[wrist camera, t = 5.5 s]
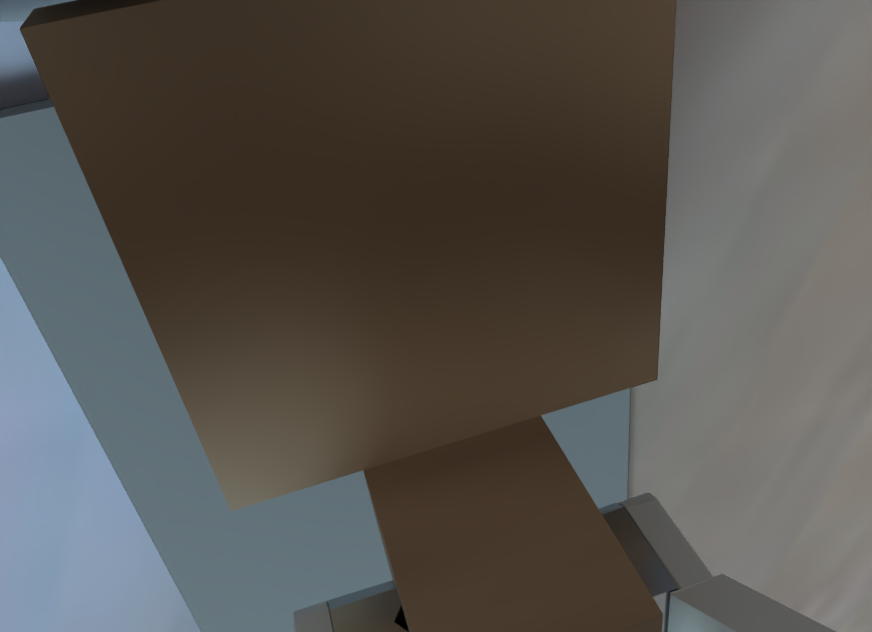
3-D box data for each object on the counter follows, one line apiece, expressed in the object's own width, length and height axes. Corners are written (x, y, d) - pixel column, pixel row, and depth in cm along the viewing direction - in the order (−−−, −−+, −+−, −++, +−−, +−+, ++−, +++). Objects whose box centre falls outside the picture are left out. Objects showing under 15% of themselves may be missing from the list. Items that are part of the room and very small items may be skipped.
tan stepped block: (623, 645, 16) (737, 856, 13) (345, 747, 15) (392, 1002, 12) (640, -111, 8) (968, -59, 5) (34, 8, 7) (-89, 179, 4)
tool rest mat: (627, -23, 14) (641, -18, 14) (616, 610, 25) (623, 623, 25) (-59, 122, 12) (-67, 132, 12) (264, 737, 24) (266, 753, 23)
